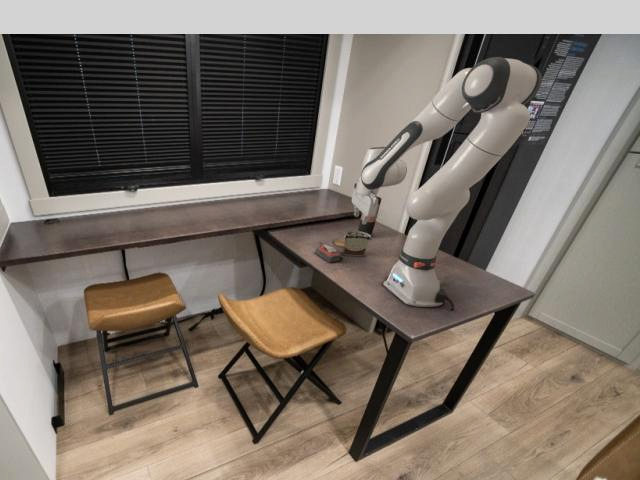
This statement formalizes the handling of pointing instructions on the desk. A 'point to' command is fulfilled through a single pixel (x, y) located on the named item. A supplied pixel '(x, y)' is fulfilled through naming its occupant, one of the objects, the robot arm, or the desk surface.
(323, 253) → the walkie-talkie
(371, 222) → the travel mug
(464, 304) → the desk surface
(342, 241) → the cork coaster
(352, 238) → the food container
